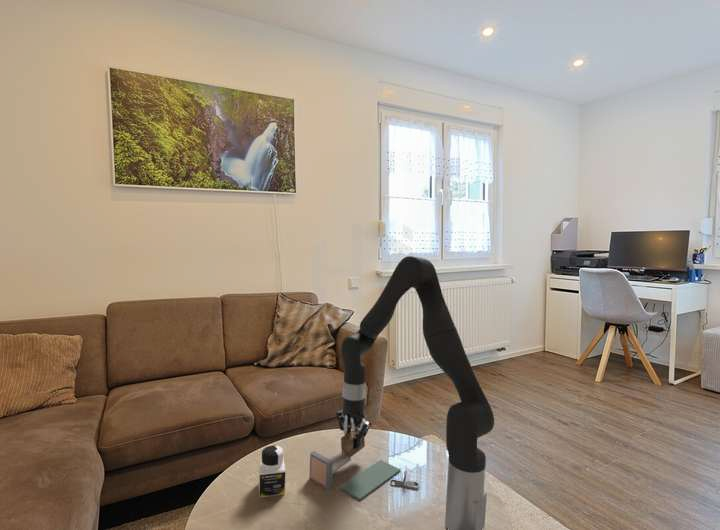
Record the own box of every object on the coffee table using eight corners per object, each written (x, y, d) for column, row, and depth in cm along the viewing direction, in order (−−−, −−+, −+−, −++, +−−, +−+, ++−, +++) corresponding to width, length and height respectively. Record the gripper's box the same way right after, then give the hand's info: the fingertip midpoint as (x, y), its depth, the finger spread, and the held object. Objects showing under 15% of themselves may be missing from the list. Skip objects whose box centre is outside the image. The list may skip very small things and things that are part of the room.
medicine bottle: (259, 498, 110) (260, 456, 109) (258, 483, 117) (259, 443, 116) (284, 495, 112) (286, 454, 111) (282, 480, 119) (284, 441, 118)
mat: (400, 471, 126) (400, 469, 126) (359, 500, 111) (360, 498, 111) (380, 461, 131) (380, 459, 131) (339, 488, 116) (339, 486, 116)
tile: (331, 487, 116) (332, 461, 116) (327, 490, 115) (328, 463, 114) (313, 476, 121) (314, 451, 121) (309, 478, 120) (310, 453, 120)
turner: (367, 447, 130) (366, 431, 129) (333, 473, 119) (332, 455, 118) (355, 442, 134) (355, 425, 133) (321, 466, 122) (320, 448, 121)
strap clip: (418, 485, 120) (419, 471, 119) (418, 491, 117) (419, 477, 116) (391, 481, 121) (391, 467, 121) (390, 487, 118) (390, 473, 118)
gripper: (378, 398, 126) (375, 450, 127) (346, 386, 135) (344, 435, 136) (362, 404, 120) (360, 459, 121) (330, 391, 129) (328, 442, 130)
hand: (351, 446), depth 128 cm, fingers closed on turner, 3 cm apart
